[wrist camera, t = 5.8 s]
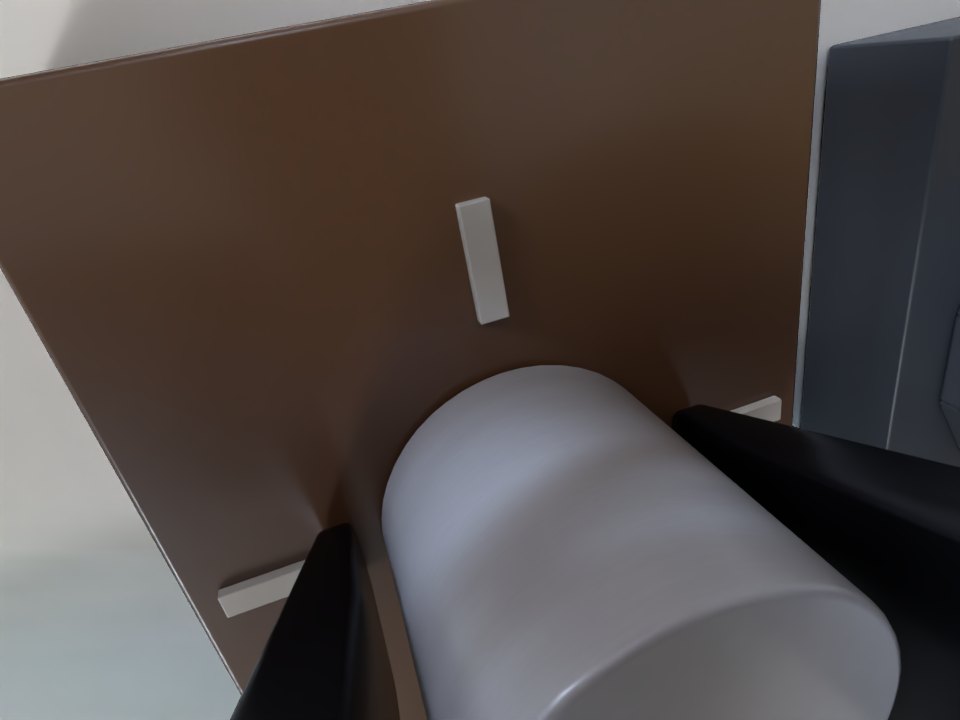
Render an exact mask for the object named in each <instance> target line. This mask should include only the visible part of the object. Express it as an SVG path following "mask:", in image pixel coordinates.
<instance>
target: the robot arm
mask: <svg viewBox="0 0 960 720" xmlns="http://www.w3.org/2000/svg"><path fill="white" fill-rule="evenodd" d="M672 430H674V431H675V432H676V433H677V434H678V435H679V436H681V437H682V438H683V439H684V440H685V441H686V442H688V443H689V444H690V445H691V446H692V447H693V448H695V449H696V450H697V451H698V452H699V453H700V454H702V455H703V456H704V457H705V458H706V459H707V460H709V461H710V462H711V463H712V464H713V465H714V466H716V467H717V468H718V469H719V470H720V471H721V472H723V473H724V474H725V475H726V476H727V477H728V478H730V479H731V480H732V481H733V482H734V483H735V484H737V485H738V486H739V487H740V488H741V489H742V490H744V491H745V492H746V493H747V494H748V495H749V496H751V497H752V498H753V499H754V500H755V501H756V502H758V503H759V504H760V505H761V506H762V507H763V508H765V509H766V510H767V511H768V512H769V513H770V514H772V515H773V516H774V517H775V518H776V519H777V520H779V521H780V522H781V523H782V524H783V525H784V526H786V527H787V528H788V529H789V530H790V531H791V532H793V533H794V534H795V535H796V536H797V537H798V538H800V539H801V540H802V541H803V542H804V543H805V544H807V545H808V546H809V547H810V548H811V549H812V550H814V551H815V552H816V553H817V554H818V555H819V556H821V557H822V558H823V559H824V560H825V561H826V562H828V563H829V564H830V565H831V566H832V567H833V568H835V569H836V570H837V571H838V572H839V573H840V574H842V575H843V576H844V577H845V578H846V579H847V580H849V581H850V582H851V583H852V584H853V585H854V586H856V587H857V588H858V589H859V590H860V591H861V592H863V593H864V594H865V595H866V596H867V597H868V598H869V599H871V600H872V601H873V602H874V603H875V604H876V605H877V606H878V607H879V608H880V609H881V611H882V612H883V613H884V614H885V616H886V618H887V620H888V621H889V623H890V625H891V627H892V629H893V630H894V632H895V634H896V636H897V640H898V644H899V648H900V652H901V675H900V682H899V688H898V692H897V695H896V699H895V702H894V706H893V708H892V711H891V713H890V716H889V718H888V720H960V467H957V466H953V465H949V464H944V463H940V462H936V461H932V460H928V459H924V458H920V457H916V456H912V455H908V454H904V453H899V452H895V451H891V450H887V449H883V448H879V447H875V446H871V445H867V444H863V443H858V442H854V441H850V440H846V439H842V438H838V437H834V436H830V435H826V434H822V433H818V432H813V431H809V430H805V429H801V428H797V427H793V426H789V425H785V424H781V423H777V422H773V421H768V420H764V419H760V418H756V417H752V416H748V415H744V414H740V413H736V412H732V411H728V410H724V409H719V408H715V407H711V406H707V405H703V404H697V405H694V406H691V407H688V408H685V409H682V410H679V411H677V412H676V413H675V414H674V415H673V417H672ZM230 720H400V713H399V706H398V699H397V692H396V687H395V682H394V677H393V672H392V668H391V664H390V660H389V655H388V651H387V647H386V643H385V638H384V634H383V630H382V626H381V621H380V617H379V613H378V609H377V605H376V600H375V596H374V592H373V588H372V584H371V580H370V576H369V573H368V569H367V566H366V563H365V560H364V558H363V555H362V552H361V549H360V546H359V543H358V540H357V537H356V535H355V532H354V529H353V527H352V525H351V524H350V523H347V522H346V523H342V524H339V525H336V526H333V527H330V528H327V529H324V530H322V531H320V532H319V533H318V535H317V536H316V538H315V541H314V543H313V545H312V547H311V549H310V551H309V553H308V555H307V558H306V560H305V562H304V564H303V566H302V568H301V570H300V572H299V575H298V577H297V579H296V581H295V583H294V585H293V587H292V589H291V591H290V594H289V596H288V598H287V600H286V602H285V604H284V606H283V608H282V611H281V613H280V615H279V617H278V619H277V621H276V623H275V625H274V628H273V630H272V632H271V634H270V636H269V638H268V640H267V642H266V645H265V647H264V649H263V651H262V653H261V655H260V657H259V659H258V662H257V664H256V666H255V668H254V670H253V672H252V674H251V676H250V679H249V681H248V683H247V685H246V687H245V689H244V691H243V693H242V696H241V698H240V700H239V702H238V704H237V706H236V708H235V710H234V713H233V715H232V717H231V719H230Z"/></svg>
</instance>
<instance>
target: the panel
mask: <svg viewBox="0 0 960 720" xmlns="http://www.w3.org/2000/svg"><path fill="white" fill-rule="evenodd" d="M820 9H821V0H431V1H426V2H420V3H415V4H409V5H404V6H398V7H393V8H387V9H382V10H376V11H371V12H365V13H360V14H354V15H349V16H343V17H338V18H332V19H327V20H321V21H316V22H310V23H305V24H299V25H294V26H288V27H283V28H277V29H272V30H266V31H261V32H255V33H250V34H244V35H239V36H233V37H228V38H222V39H217V40H211V41H206V42H200V43H195V44H189V45H184V46H178V47H173V48H167V49H162V50H156V51H151V52H145V53H140V54H134V55H129V56H123V57H118V58H112V59H107V60H101V61H96V62H90V63H85V64H79V65H74V66H68V67H63V68H57V69H52V70H46V71H40V72H35V73H29V74H24V75H18V76H13V77H7V78H2V79H0V268H1V270H2V272H3V274H4V275H5V277H6V279H7V281H8V282H9V284H10V286H11V288H12V289H13V291H14V293H15V295H16V297H17V298H18V300H19V302H20V304H21V305H22V307H23V309H24V311H25V313H26V314H27V316H28V318H29V320H30V321H31V323H32V325H33V327H34V328H35V330H36V332H37V334H38V336H39V337H40V339H41V341H42V343H43V344H44V346H45V348H46V350H47V352H48V353H49V355H50V357H51V359H52V360H53V362H54V364H55V366H56V368H57V369H58V371H59V373H60V375H61V376H62V378H63V380H64V382H65V383H66V385H67V387H68V389H69V391H70V392H71V394H72V396H73V398H74V399H75V401H76V403H77V405H78V407H79V408H80V410H81V412H82V414H83V415H84V417H85V419H86V421H87V422H88V424H89V426H90V428H91V430H92V431H93V433H94V435H95V437H96V438H97V440H98V442H99V444H100V446H101V447H102V449H103V451H104V453H105V454H106V456H107V458H108V460H109V462H110V463H111V465H112V467H113V469H114V470H115V472H116V474H117V476H118V477H119V479H120V481H121V483H122V485H123V486H124V488H125V490H126V492H127V493H128V495H129V497H130V499H131V501H132V502H133V504H134V506H135V508H136V509H137V511H138V513H139V515H140V516H141V518H142V520H143V522H144V524H145V525H146V527H147V529H148V531H149V532H150V534H151V536H152V538H153V540H154V541H155V543H156V545H157V547H158V548H159V550H160V552H161V554H162V556H163V557H164V559H165V561H166V563H167V564H168V566H169V568H170V570H171V571H172V573H173V575H174V577H175V579H176V580H177V582H178V584H179V586H180V587H181V589H182V591H183V593H184V595H185V596H186V598H187V600H188V602H189V603H190V605H191V607H192V609H193V610H194V612H195V614H196V616H197V618H198V619H199V621H200V623H201V625H202V626H203V628H204V630H205V632H206V634H207V635H208V637H209V639H210V641H211V642H212V644H213V646H214V648H215V650H216V651H217V653H218V655H219V657H220V658H221V660H222V662H223V664H224V665H225V667H226V669H227V671H228V673H229V674H230V676H231V678H232V680H233V681H234V683H235V685H236V687H237V689H238V690H239V692H240V694H241V696H242V693H243V691H244V689H245V687H246V685H247V683H248V681H249V679H250V676H251V674H252V672H253V670H254V668H255V666H256V664H257V662H258V659H259V657H260V655H261V653H262V651H263V649H264V647H265V645H266V642H267V640H268V638H269V636H270V634H271V632H272V630H273V628H274V625H275V623H276V621H277V619H278V617H279V615H280V613H281V611H282V608H283V606H284V604H285V602H286V600H287V598H288V596H289V594H290V591H291V589H292V587H293V585H294V583H295V581H296V579H297V577H298V575H299V572H300V570H301V568H302V566H303V564H304V562H305V560H306V558H307V555H308V553H309V551H310V549H311V547H312V545H313V543H314V541H315V538H316V536H317V535H318V533H319V532H320V531H322V530H324V529H327V528H330V527H333V526H336V525H339V524H342V523H346V522H347V523H350V524H351V525H352V527H353V529H354V532H355V535H356V537H357V540H358V543H359V546H360V549H361V552H362V555H363V558H364V560H365V563H366V566H367V569H368V573H369V576H370V580H371V584H372V588H373V592H374V596H375V600H376V605H377V609H378V613H379V617H380V621H381V626H382V630H383V634H384V638H385V643H386V647H387V651H388V655H389V660H390V664H391V668H392V672H393V677H394V682H395V687H396V692H397V699H398V706H399V713H400V720H427V717H426V713H425V709H424V705H423V701H422V696H421V692H420V688H419V684H418V680H417V676H416V671H415V667H414V663H413V659H412V655H411V651H410V646H409V642H408V638H407V634H406V630H405V626H404V621H403V617H402V613H401V609H400V605H399V601H398V596H397V592H396V588H395V584H394V580H393V576H392V571H391V567H390V563H389V559H388V555H387V551H386V547H385V542H384V538H383V533H382V519H381V517H382V506H383V499H384V495H385V490H386V486H387V483H388V480H389V478H390V475H391V473H392V470H393V467H394V465H395V463H396V461H397V459H398V458H399V456H400V454H401V452H402V451H403V449H404V447H405V445H406V444H407V443H408V441H409V440H410V439H411V437H412V436H413V435H414V433H415V432H416V430H417V429H418V428H419V427H420V426H421V425H422V424H423V423H424V422H425V421H426V420H427V419H428V418H429V417H430V415H432V414H433V413H434V412H435V411H436V410H437V409H439V408H440V407H441V406H442V405H443V404H445V403H446V402H447V401H448V400H450V399H451V398H453V397H454V396H456V395H457V394H459V393H460V392H462V391H463V390H465V389H467V388H469V387H471V386H473V385H474V384H476V383H478V382H480V381H482V380H484V379H487V378H490V377H492V376H495V375H498V374H500V373H503V372H507V371H511V370H515V369H519V368H523V367H531V366H539V365H564V366H571V367H578V368H583V369H586V370H589V371H593V372H596V373H599V374H601V375H603V376H605V377H607V378H609V379H611V380H613V381H614V382H616V383H617V384H619V385H620V386H622V387H623V388H625V389H626V390H627V391H628V392H629V393H631V394H632V395H633V396H634V397H635V398H636V399H637V400H639V401H640V402H641V403H642V404H643V405H644V406H646V407H647V408H648V409H649V410H650V411H651V412H653V413H654V414H655V415H656V416H657V417H658V418H660V419H661V420H662V421H663V422H664V423H665V424H667V425H668V426H669V427H670V428H671V429H672V417H673V415H674V414H675V413H676V412H677V411H679V410H682V409H685V408H688V407H691V406H694V405H697V404H703V405H707V406H711V407H715V408H719V409H724V410H728V411H732V412H736V413H740V414H744V415H748V416H752V417H756V418H760V419H764V420H768V421H773V422H777V423H781V424H785V425H789V426H792V418H793V403H794V388H795V374H796V359H797V345H798V330H799V315H800V301H801V286H802V272H803V257H804V242H805V228H806V213H807V199H808V184H809V169H810V155H811V140H812V126H813V111H814V96H815V82H816V67H817V52H818V38H819V23H820Z"/></svg>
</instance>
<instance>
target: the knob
mask: <svg viewBox="0 0 960 720" xmlns="http://www.w3.org/2000/svg"><path fill="white" fill-rule="evenodd" d="M381 519H382V533H383V538H384V542H385V547H386V551H387V555H388V559H389V563H390V567H391V571H392V576H393V580H394V584H395V588H396V592H397V596H398V601H399V605H400V609H401V613H402V617H403V621H404V626H405V630H406V634H407V638H408V642H409V646H410V651H411V655H412V659H413V663H414V667H415V671H416V676H417V680H418V684H419V688H420V692H421V696H422V701H423V705H424V709H425V713H426V717H427V720H888V718H889V716H890V713H891V711H892V708H893V706H894V702H895V699H896V695H897V692H898V688H899V682H900V675H901V652H900V648H899V644H898V640H897V636H896V634H895V632H894V630H893V629H892V627H891V625H890V623H889V621H888V620H887V618H886V616H885V614H884V613H883V612H882V611H881V609H880V608H879V607H878V606H877V605H876V604H875V603H874V602H873V601H872V600H871V599H869V598H868V597H867V596H866V595H865V594H864V593H863V592H861V591H860V590H859V589H858V588H857V587H856V586H854V585H853V584H852V583H851V582H850V581H849V580H847V579H846V578H845V577H844V576H843V575H842V574H840V573H839V572H838V571H837V570H836V569H835V568H833V567H832V566H831V565H830V564H829V563H828V562H826V561H825V560H824V559H823V558H822V557H821V556H819V555H818V554H817V553H816V552H815V551H814V550H812V549H811V548H810V547H809V546H808V545H807V544H805V543H804V542H803V541H802V540H801V539H800V538H798V537H797V536H796V535H795V534H794V533H793V532H791V531H790V530H789V529H788V528H787V527H786V526H784V525H783V524H782V523H781V522H780V521H779V520H777V519H776V518H775V517H774V516H773V515H772V514H770V513H769V512H768V511H767V510H766V509H765V508H763V507H762V506H761V505H760V504H759V503H758V502H756V501H755V500H754V499H753V498H752V497H751V496H749V495H748V494H747V493H746V492H745V491H744V490H742V489H741V488H740V487H739V486H738V485H737V484H735V483H734V482H733V481H732V480H731V479H730V478H728V477H727V476H726V475H725V474H724V473H723V472H721V471H720V470H719V469H718V468H717V467H716V466H714V465H713V464H712V463H711V462H710V461H709V460H707V459H706V458H705V457H704V456H703V455H702V454H700V453H699V452H698V451H697V450H696V449H695V448H693V447H692V446H691V445H690V444H689V443H688V442H686V441H685V440H684V439H683V438H682V437H681V436H679V435H678V434H677V433H676V432H675V431H674V430H672V429H671V428H670V427H669V426H668V425H667V424H665V423H664V422H663V421H662V420H661V419H660V418H658V417H657V416H656V415H655V414H654V413H653V412H651V411H650V410H649V409H648V408H647V407H646V406H644V405H643V404H642V403H641V402H640V401H639V400H637V399H636V398H635V397H634V396H633V395H632V394H631V393H629V392H628V391H627V390H626V389H625V388H623V387H622V386H620V385H619V384H617V383H616V382H614V381H613V380H611V379H609V378H607V377H605V376H603V375H601V374H599V373H596V372H593V371H589V370H586V369H583V368H578V367H571V366H564V365H539V366H531V367H523V368H519V369H515V370H511V371H507V372H503V373H500V374H498V375H495V376H492V377H490V378H487V379H484V380H482V381H480V382H478V383H476V384H474V385H473V386H471V387H469V388H467V389H465V390H463V391H462V392H460V393H459V394H457V395H456V396H454V397H453V398H451V399H450V400H448V401H447V402H446V403H445V404H443V405H442V406H441V407H440V408H439V409H437V410H436V411H435V412H434V413H433V414H432V415H430V417H429V418H428V419H427V420H426V421H425V422H424V423H423V424H422V425H421V426H420V427H419V428H418V429H417V430H416V432H415V433H414V435H413V436H412V437H411V439H410V440H409V441H408V443H407V444H406V445H405V447H404V449H403V451H402V452H401V454H400V456H399V458H398V459H397V461H396V463H395V465H394V467H393V470H392V473H391V475H390V478H389V480H388V483H387V486H386V490H385V495H384V499H383V506H382V517H381Z"/></svg>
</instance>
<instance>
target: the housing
mask: <svg viewBox="0 0 960 720" xmlns="http://www.w3.org/2000/svg"><path fill="white" fill-rule="evenodd" d="M800 428H801V429H805V430H809V431H813V432H818V433H822V434H826V435H830V436H834V437H838V438H842V439H846V440H850V441H854V442H858V443H863V444H867V445H871V446H875V447H879V448H883V449H887V450H891V451H895V452H899V453H904V454H908V455H912V456H916V457H920V458H924V459H928V460H932V461H936V462H940V463H944V464H949V465H953V466H957V467H960V17H957V18H952V19H948V20H943V21H939V22H934V23H930V24H926V25H921V26H917V27H912V28H908V29H903V30H899V31H895V32H890V33H886V34H881V35H877V36H873V37H868V38H864V39H859V40H855V41H850V42H846V43H842V44H837V45H833V46H832V47H830V49H829V59H828V72H827V85H826V99H825V112H824V125H823V138H822V151H821V164H820V177H819V190H818V204H817V217H816V230H815V243H814V256H813V269H812V282H811V295H810V309H809V322H808V335H807V348H806V361H805V374H804V387H803V400H802V413H801V427H800Z"/></svg>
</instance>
